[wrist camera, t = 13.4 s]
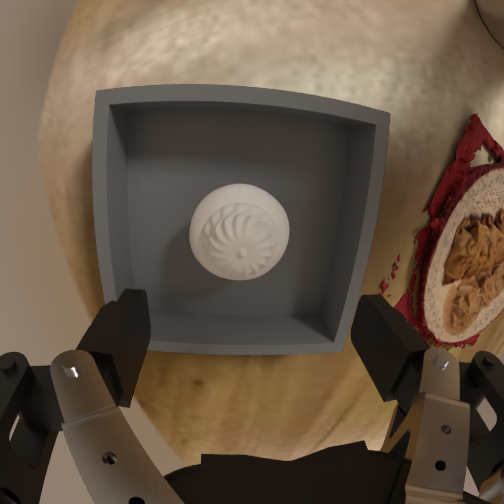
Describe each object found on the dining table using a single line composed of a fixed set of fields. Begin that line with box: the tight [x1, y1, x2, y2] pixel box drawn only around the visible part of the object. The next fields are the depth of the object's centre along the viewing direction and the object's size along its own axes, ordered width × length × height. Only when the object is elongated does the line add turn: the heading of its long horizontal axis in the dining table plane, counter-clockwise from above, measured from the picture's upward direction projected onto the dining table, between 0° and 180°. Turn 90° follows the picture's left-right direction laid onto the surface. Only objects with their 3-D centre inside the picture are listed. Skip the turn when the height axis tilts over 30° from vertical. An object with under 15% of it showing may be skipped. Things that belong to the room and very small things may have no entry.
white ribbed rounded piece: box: [189, 184, 289, 280], centre depth 18 cm, size 6×6×7 cm
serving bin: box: [92, 84, 390, 355], centre depth 19 cm, size 18×18×5 cm
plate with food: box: [380, 113, 504, 351], centre depth 25 cm, size 25×26×4 cm
